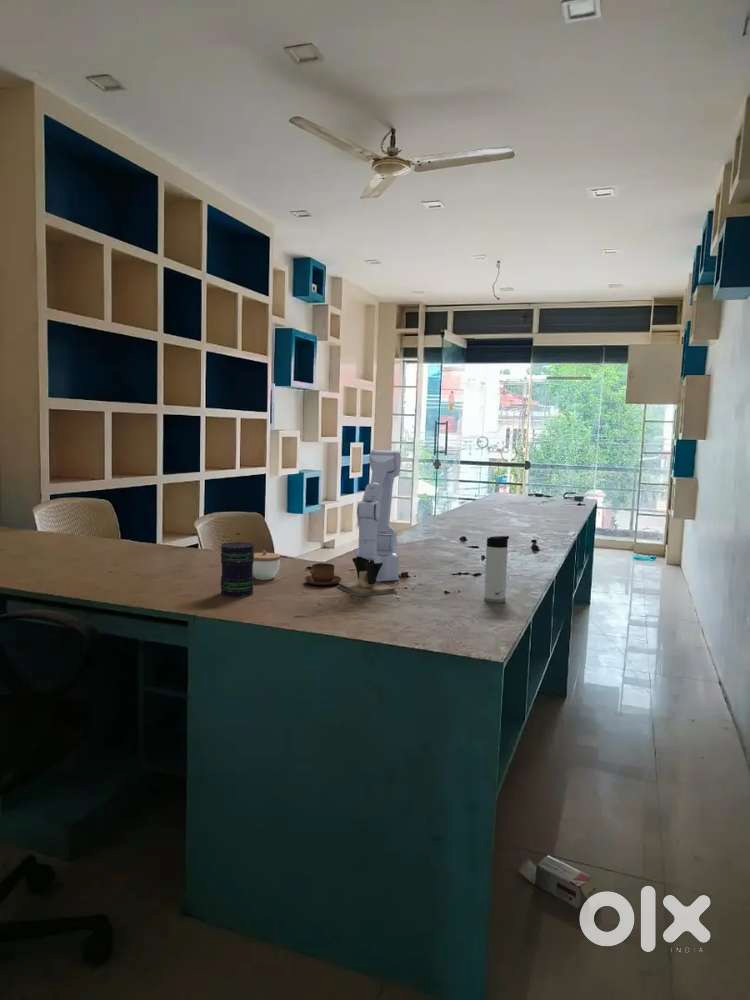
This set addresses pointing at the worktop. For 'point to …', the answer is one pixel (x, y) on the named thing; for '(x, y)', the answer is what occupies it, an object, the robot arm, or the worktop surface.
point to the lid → (365, 585)
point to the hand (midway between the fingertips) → (366, 581)
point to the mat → (366, 593)
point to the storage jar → (237, 569)
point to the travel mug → (496, 569)
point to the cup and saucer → (322, 575)
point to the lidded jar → (265, 565)
